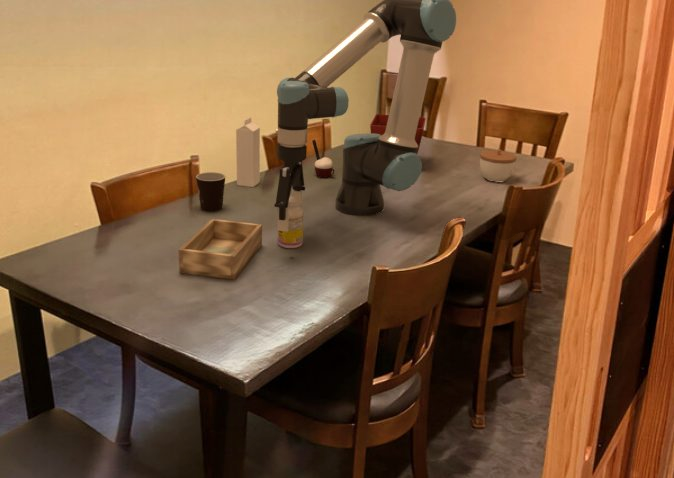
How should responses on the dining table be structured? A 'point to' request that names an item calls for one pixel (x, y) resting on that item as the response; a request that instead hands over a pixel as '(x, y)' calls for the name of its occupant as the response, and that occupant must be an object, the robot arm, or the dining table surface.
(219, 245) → the walled box
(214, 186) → the coffee mug
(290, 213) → the supplement bottle
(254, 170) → the milk
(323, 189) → the dining table surface
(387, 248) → the dining table surface
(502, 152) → the lidded bowl
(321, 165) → the cocoa
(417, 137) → the plant pot
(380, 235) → the dining table surface
